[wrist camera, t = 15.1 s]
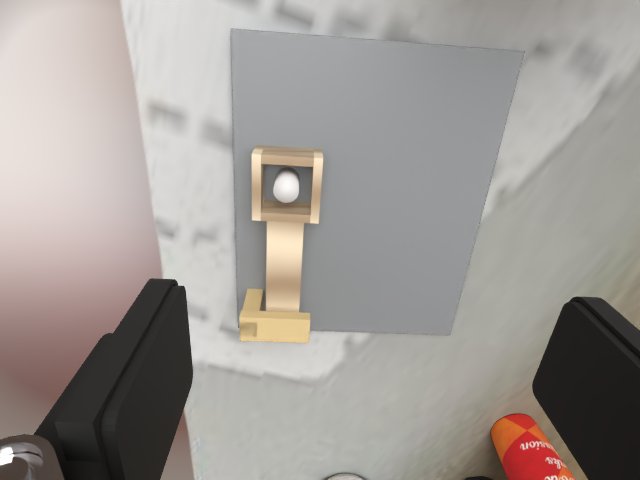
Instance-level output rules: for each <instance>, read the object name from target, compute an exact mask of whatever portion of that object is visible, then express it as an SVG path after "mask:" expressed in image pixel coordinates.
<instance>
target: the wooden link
mask: <svg viewBox="0 0 640 480" xmlns="http://www.w3.org/2000/svg"><path fill="white" fill-rule="evenodd" d="M265 164H271V165H289V166H306V167H312V181H311V198H310V202H298V201H292V202H289V203H284V202H281V201H279V200H264V168H265ZM322 170H323V153H322V149H312V148H295V147H279V146H262V145H256V146H255V148H254V150H253V152H252V220H255V221H267V260H266V311H275V312H299V304H300V286H301V268H302V249H303V231H304V223H315V224H319V212H320V198H321V184H322Z"/></svg>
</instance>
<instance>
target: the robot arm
mask: <svg viewBox="0 0 640 480" xmlns="http://www.w3.org/2000/svg"><path fill="white" fill-rule="evenodd" d="M192 379H193V367H192V356H191V345H190V334H189V323H188V312H187V300H186V291H185V287H184V286H178V284H177V281H176V280H173V279H150V280H149V281H148V282H147V283H146V285H145V286H144V288H143V289H142V291H141V292H140V294H139V295H138V297H137V298H136V300H135V301H134V303H133V305H132V306H131V307H130V309H129V311H128V312H127V313H126V315H125V316H124V318H123V319H122V321H121V322H120V324H119V326H118V327H117V328H116V330H115V331H114V333H108V334H105V335H104V336H103V337H102V338H101V339H100V340H99V341H98V343H97V344H96V346H95V347H94V349H93V350H92V352H91V353H90V354H89V356H88V357H87V359H86V360H85V362H84V363H83V364H82V366H81V367H80V369H79V370H78V372H77V373H76V374H75V376H74V377H73V379H72V380H71V382H70V383H69V384H68V386H67V387H66V389H65V390H64V392H63V393H62V395H61V396H60V397H59V399H58V400H57V402H56V403H55V405H54V406H53V407H52V409H51V410H50V412H49V413H48V415H47V416H46V417H45V419H44V421H43V422H42V423H41V425H40V426H39V428H38V429H37V430H36V432H35V433H34V435H29V434H22V435H16V436H10V437H6V438H3V439H0V480H160V478H161V475H162V472H163V469H164V466H165V463H166V460H167V457H168V454H169V451H170V448H171V445H172V442H173V439H174V436H175V433H176V430H177V427H178V424H179V421H180V418H181V415H182V412H183V409H184V406H185V403H186V400H187V397H188V394H189V391H190V389H191V385H192ZM532 388H533V393H534V396H535V398H536V399H537V401H538V402H539V404H540V405H541V407H542V408H543V410H544V412H545V413H546V415H547V416H548V418H549V419H550V421H551V422H552V424H553V425H554V427H555V429H556V430H557V432H558V433H559V435H560V436H561V438H562V439H563V441H564V442H565V444H566V446H567V447H568V449H569V450H570V452H571V453H572V455H573V456H574V458H575V460H576V461H577V463H578V464H579V466H580V467H581V469H582V470H583V472H584V473H585V475H586V477H587V478H588V480H640V331H639V330H638V329H637V328H636V327H635V326H634V325H632V324H631V323H630V322H629V321H628V320H627V319H626V318H624V317H623V316H622V315H621V314H620V313H619V312H617V311H616V310H615V309H614V308H613V307H612V306H610V305H609V304H608V303H607V302H606V301H605V300H603V299H601V298H596V297H574V298H572V299H571V300H570V301H569V302H568V303H566V304H564V306H563V308H562V310H561V313H560V315H559V318H558V320H557V323H556V325H555V328H554V330H553V333H552V335H551V338H550V340H549V343H548V345H547V348H546V350H545V353H544V355H543V358H542V360H541V363H540V365H539V368H538V370H537V373H536V375H535V378H534V380H533V385H532Z"/></svg>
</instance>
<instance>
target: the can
mask: <svg viewBox="0 0 640 480" xmlns="http://www.w3.org/2000/svg"><path fill="white" fill-rule="evenodd" d="M327 480H363V479H362V478H360V477H359V476H357V475H353V474H346V473H344V474H337V475H334V476H332V477H330V478H328V479H327Z"/></svg>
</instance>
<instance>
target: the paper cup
mask: <svg viewBox="0 0 640 480" xmlns="http://www.w3.org/2000/svg"><path fill="white" fill-rule="evenodd" d="M491 436H492V439H493V442H494V445H495V448H496V450H497V453H498V455H499V458H500V460H501V463H502V466H503V468H504V471H505V473H506V476H507V478H508V480H575V478H574V477H573V475H572V474H571V472H570V471H569V469H568V468H567V467H566V465H565V464H564V462H563V461H562V459H561V458H560V456H559V455H558V453H557V452H556V451H555V449H554V448H553V446H552V445H551V443H550V442H549V440H548V439H547V438H546V436H545V435H544V433H543V432H542V431H541V429H540V428H539V426H538V425H537V424H536V422H535V421H534V420H533V419H532V418H531V417H530V416H528V415H525V414H511V415H508V416H505V417H503V418H501V419H500V420H498V421H497V422H496V423H495V424H494V425H493V427H492V429H491Z"/></svg>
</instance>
